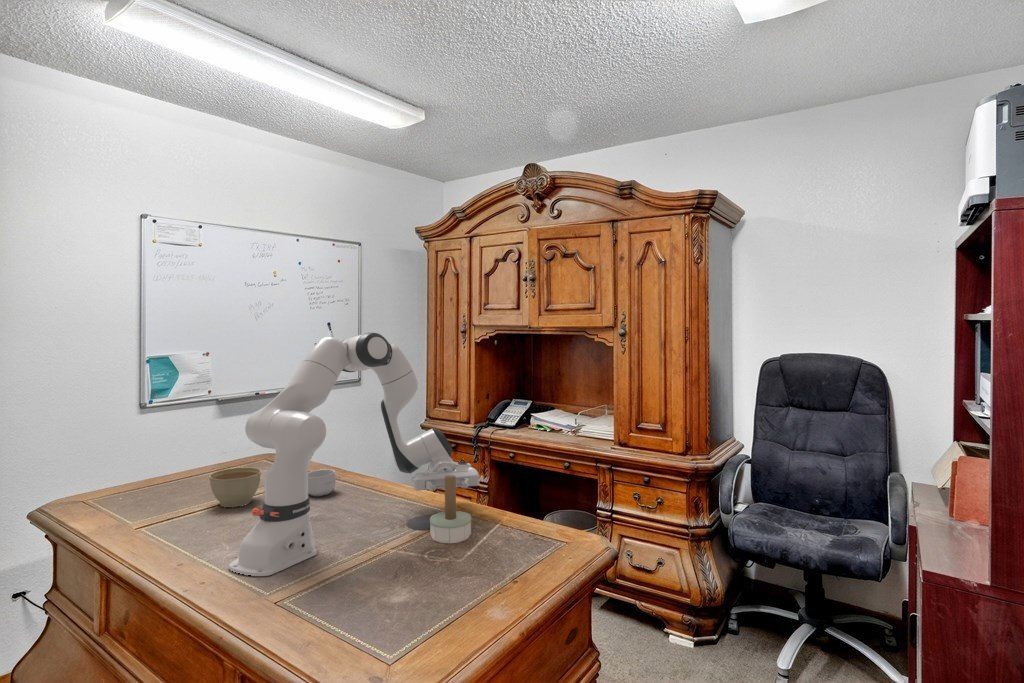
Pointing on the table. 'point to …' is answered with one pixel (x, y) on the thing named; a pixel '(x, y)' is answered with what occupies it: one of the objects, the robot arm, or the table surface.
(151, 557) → the table surface
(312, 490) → the teacup
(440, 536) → the bowl
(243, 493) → the planter bowl
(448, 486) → the peg stand
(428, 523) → the mat
